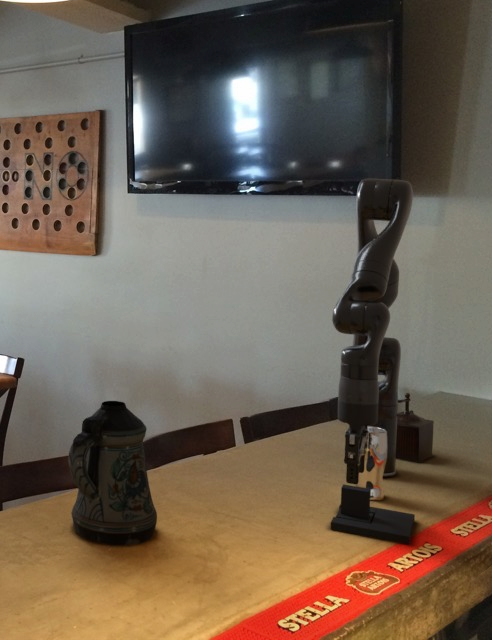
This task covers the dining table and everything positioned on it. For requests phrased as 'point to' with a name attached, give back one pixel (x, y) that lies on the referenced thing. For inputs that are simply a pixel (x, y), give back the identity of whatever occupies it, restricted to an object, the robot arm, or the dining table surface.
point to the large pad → (380, 525)
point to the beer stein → (112, 478)
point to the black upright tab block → (355, 504)
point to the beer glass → (374, 462)
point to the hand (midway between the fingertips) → (355, 477)
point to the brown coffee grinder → (413, 435)
